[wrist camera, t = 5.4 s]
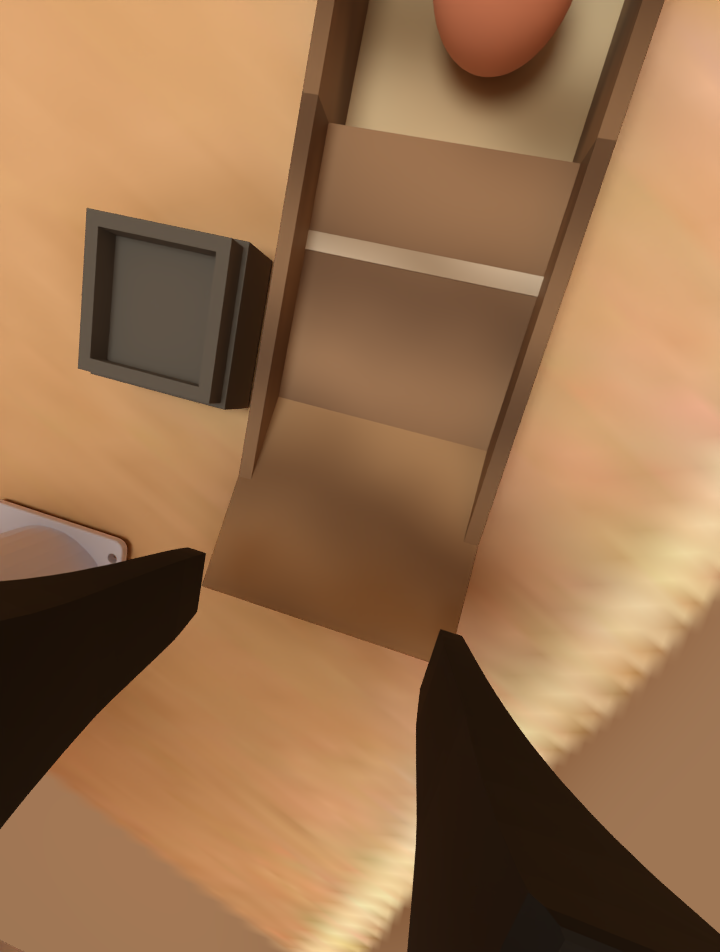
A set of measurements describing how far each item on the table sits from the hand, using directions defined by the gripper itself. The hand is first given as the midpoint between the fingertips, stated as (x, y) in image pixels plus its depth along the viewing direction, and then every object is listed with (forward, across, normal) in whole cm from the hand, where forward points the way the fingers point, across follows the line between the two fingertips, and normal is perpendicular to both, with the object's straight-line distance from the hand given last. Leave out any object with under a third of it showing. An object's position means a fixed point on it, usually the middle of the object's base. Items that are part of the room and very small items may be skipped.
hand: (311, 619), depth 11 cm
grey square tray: (+6, +9, -8) cm, 13 cm away
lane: (+6, 0, -10) cm, 11 cm away
